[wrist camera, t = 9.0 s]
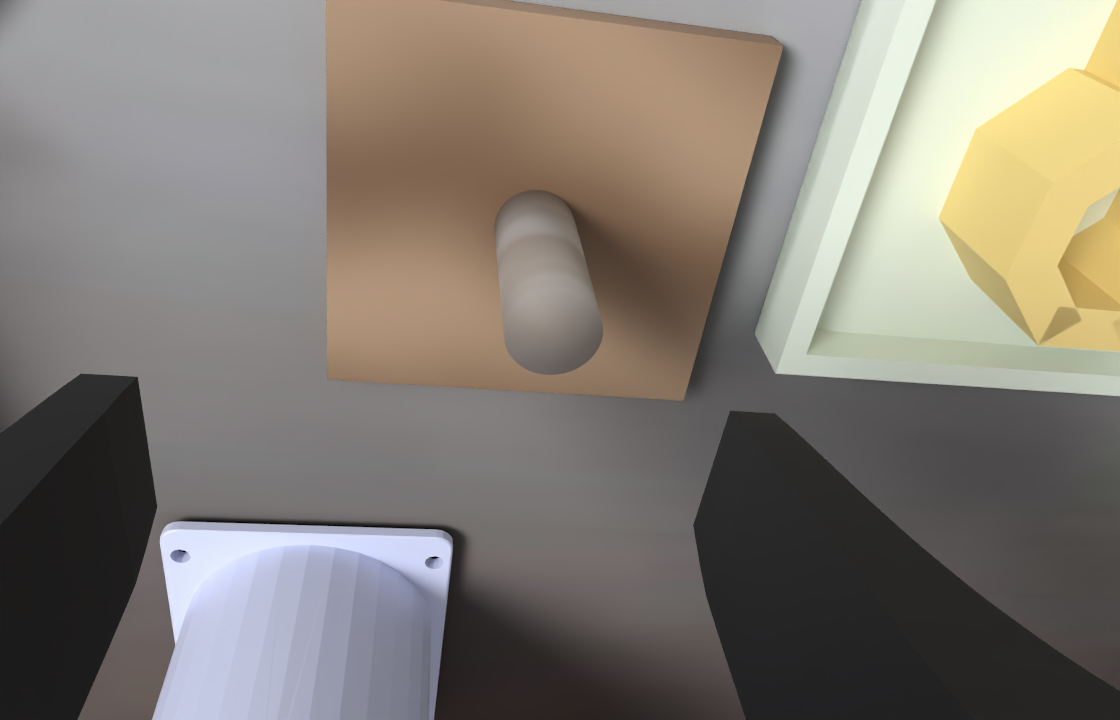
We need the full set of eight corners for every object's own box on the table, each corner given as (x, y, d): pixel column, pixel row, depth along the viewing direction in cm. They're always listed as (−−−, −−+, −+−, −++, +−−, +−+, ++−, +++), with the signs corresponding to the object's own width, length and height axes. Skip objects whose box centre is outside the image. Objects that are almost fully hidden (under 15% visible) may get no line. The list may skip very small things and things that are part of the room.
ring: (1258, 9, 18) (1385, 47, 16) (1101, 290, 22) (1182, 356, 20) (1039, -25, 17) (1136, 10, 15) (914, 274, 21) (974, 341, 19)
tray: (1143, 362, 24) (1187, 400, 23) (754, 333, 22) (775, 373, 21) (1430, -96, 18) (1517, -83, 16) (922, -191, 16) (970, -186, 15)
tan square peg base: (677, 382, 23) (727, 521, 19) (330, 361, 22) (300, 507, 17) (771, 36, 18) (869, 117, 14) (331, -24, 17) (289, 48, 12)
